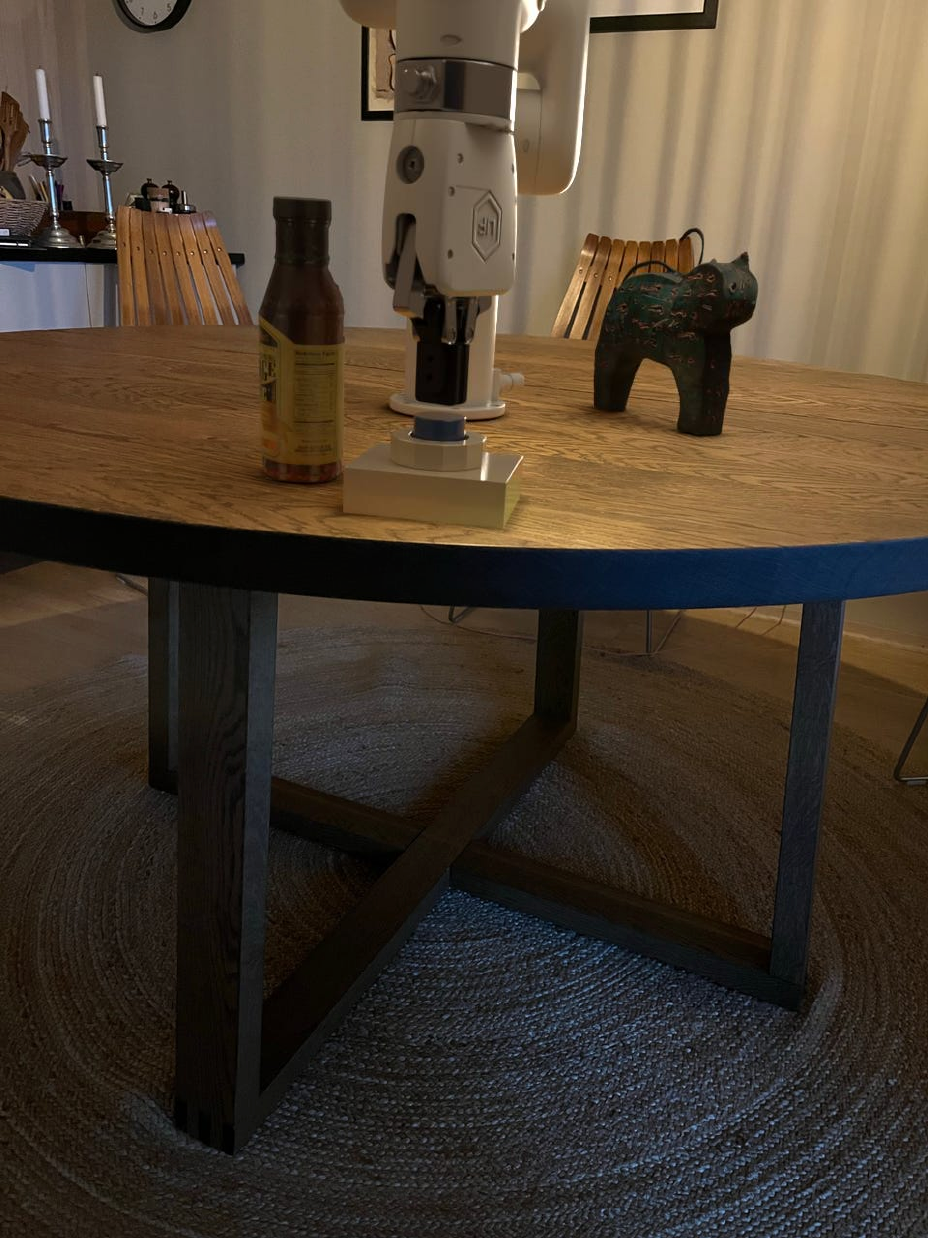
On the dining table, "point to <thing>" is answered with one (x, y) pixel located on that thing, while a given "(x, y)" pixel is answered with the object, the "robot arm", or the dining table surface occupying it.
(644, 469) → the dining table surface
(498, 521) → the push button base
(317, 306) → the sauce bottle
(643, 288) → the ceramic cat
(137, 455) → the dining table surface
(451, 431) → the cylinder
